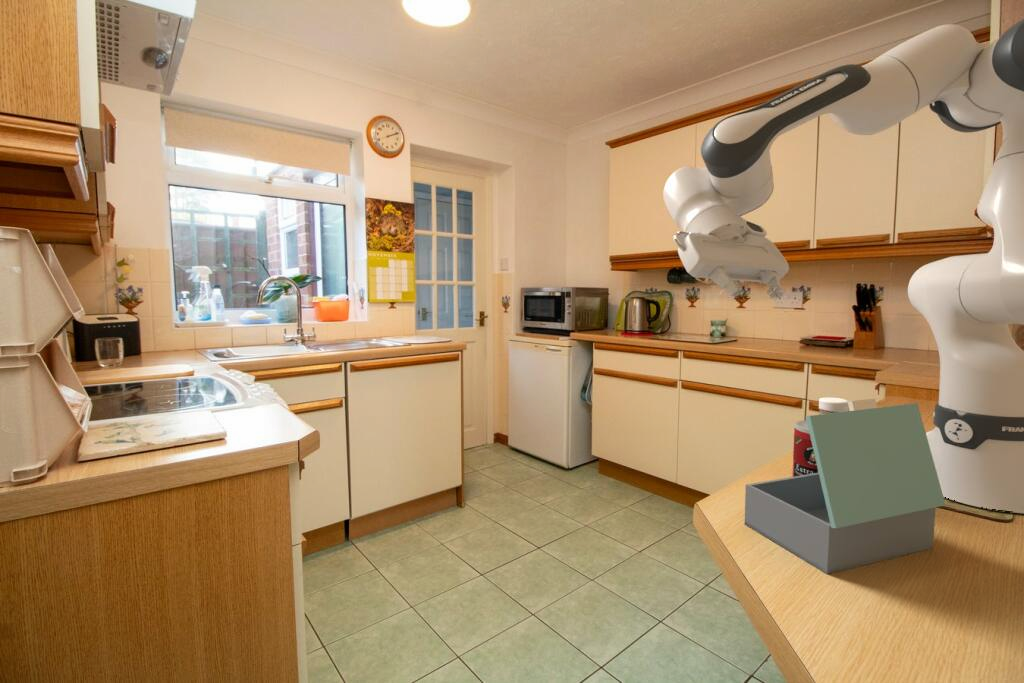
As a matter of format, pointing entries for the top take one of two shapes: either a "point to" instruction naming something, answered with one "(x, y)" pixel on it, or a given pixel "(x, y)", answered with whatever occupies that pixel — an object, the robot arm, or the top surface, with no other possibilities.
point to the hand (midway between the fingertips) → (758, 294)
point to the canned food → (803, 451)
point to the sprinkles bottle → (832, 405)
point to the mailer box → (807, 530)
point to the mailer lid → (874, 462)
